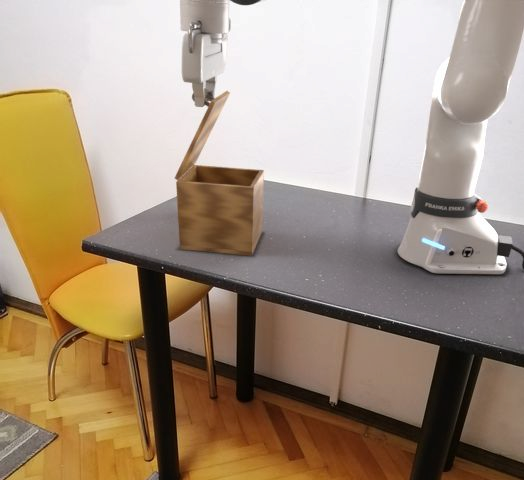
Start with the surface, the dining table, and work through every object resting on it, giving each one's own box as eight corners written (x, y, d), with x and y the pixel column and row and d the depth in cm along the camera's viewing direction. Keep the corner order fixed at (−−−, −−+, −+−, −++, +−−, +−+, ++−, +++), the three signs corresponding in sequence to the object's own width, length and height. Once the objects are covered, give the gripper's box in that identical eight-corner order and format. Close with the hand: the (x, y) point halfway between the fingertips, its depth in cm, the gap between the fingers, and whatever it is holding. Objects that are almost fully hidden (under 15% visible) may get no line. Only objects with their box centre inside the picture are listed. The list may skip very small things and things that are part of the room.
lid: (230, 92, 109) (209, 78, 108) (215, 102, 97) (191, 87, 97) (195, 163, 118) (175, 151, 117) (177, 180, 106) (155, 166, 106)
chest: (261, 232, 124) (264, 170, 116) (251, 255, 113) (253, 187, 105) (196, 227, 126) (193, 164, 118) (179, 249, 114) (176, 181, 107)
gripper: (208, 23, 88) (208, 113, 95) (232, 20, 105) (231, 97, 112) (171, 20, 88) (174, 110, 96) (201, 18, 105) (201, 95, 113)
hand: (204, 103), depth 104 cm, fingers closed on lid, 6 cm apart
